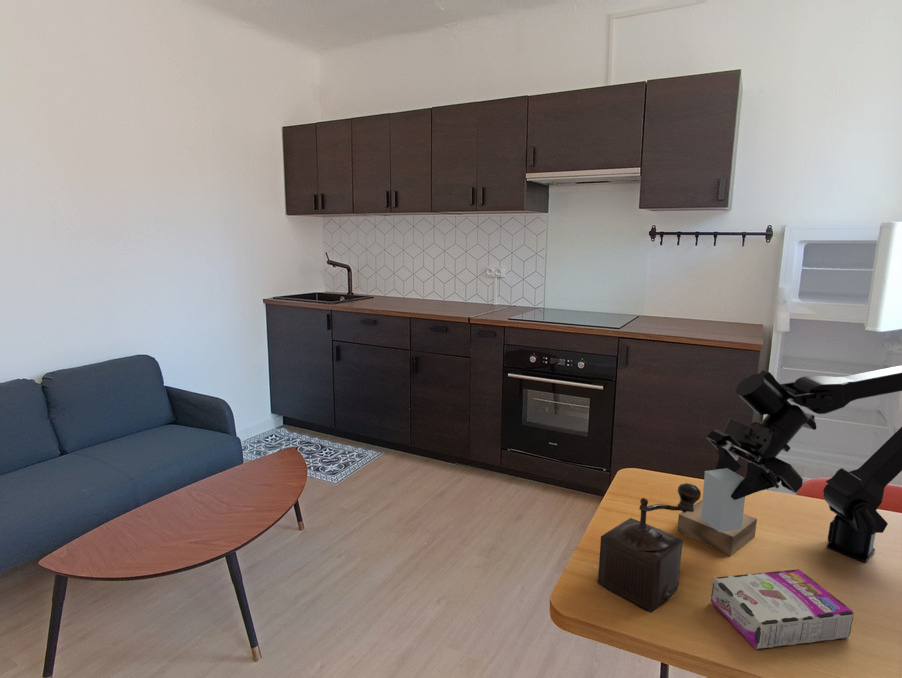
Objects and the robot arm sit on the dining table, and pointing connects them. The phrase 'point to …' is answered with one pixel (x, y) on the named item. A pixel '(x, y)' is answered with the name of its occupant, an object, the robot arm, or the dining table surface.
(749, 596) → the candy bar box
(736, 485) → the grey-blue block
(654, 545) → the manual coffee grinder
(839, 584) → the dining table surface
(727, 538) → the walnut block
